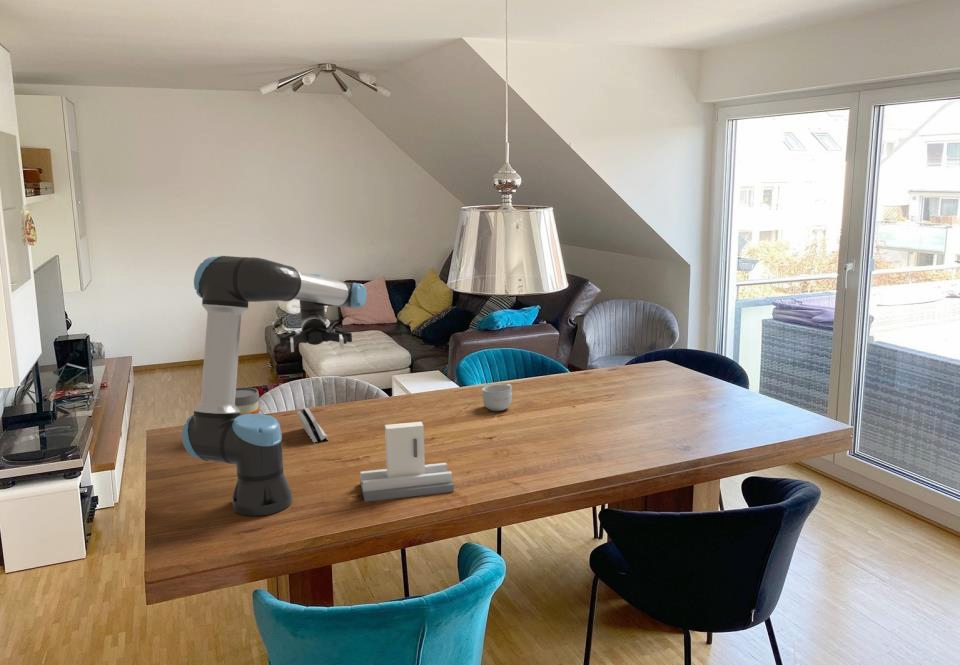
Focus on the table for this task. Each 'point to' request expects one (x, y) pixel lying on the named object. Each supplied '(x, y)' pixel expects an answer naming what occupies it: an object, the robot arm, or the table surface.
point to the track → (406, 483)
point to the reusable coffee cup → (247, 400)
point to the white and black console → (309, 421)
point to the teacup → (497, 396)
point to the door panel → (405, 449)
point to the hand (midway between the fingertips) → (317, 345)
